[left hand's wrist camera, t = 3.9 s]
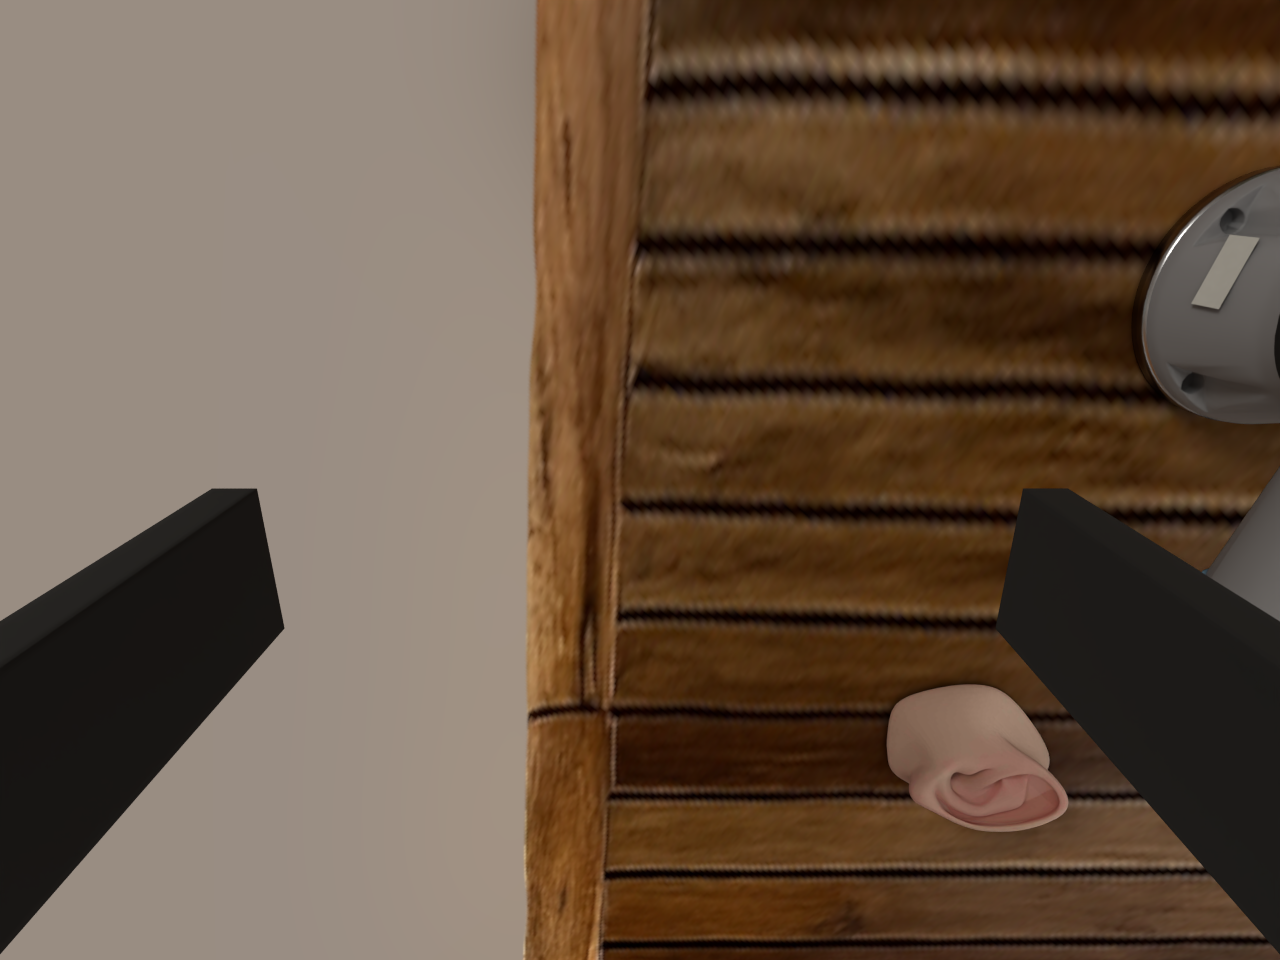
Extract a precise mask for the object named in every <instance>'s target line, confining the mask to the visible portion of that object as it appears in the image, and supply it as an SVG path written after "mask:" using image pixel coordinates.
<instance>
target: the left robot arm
mask: <svg viewBox="0 0 1280 960" xmlns="http://www.w3.org/2000/svg"><path fill="white" fill-rule="evenodd" d="M1132 340H1133V346H1134V351H1135V355H1136V359H1137V361H1138V364H1139V366H1140V369H1141V371H1142V372H1143V374H1144V376H1145V378H1146V379H1147V381H1148V382H1149V383H1150V385H1151V386H1152V387H1153V388H1154V389H1155V390H1156V392H1157V393H1158V394H1160V395H1161V396H1162V397H1163V398H1164V399H1166V400H1167V401H1169V402H1170V403H1172V404H1173V405H1175V406H1177V407H1179V408H1181V409H1183V410H1186V411H1188V412H1191V413H1194V414H1197V415H1200V416H1203V417H1206V418H1209V419H1213V420H1218V421H1225V422H1231V423H1240V424H1265V423H1280V166H1275V167H1270V168H1265V169H1261V170H1258V171H1254V172H1251V173H1249V174H1246V175H1244V176H1241V177H1239V178H1237V179H1235V180H1232V181H1230V182H1228V183H1226V184H1225V185H1223V186H1221V187H1220V188H1218V189H1216V190H1214V191H1213V192H1212V193H1210V194H1209V195H1207V196H1206V197H1204V198H1203V199H1202V200H1200V201H1199V202H1198V203H1197V204H1195V205H1194V206H1193V207H1192V208H1191V209H1190V210H1189V211H1188V212H1186V213H1185V214H1184V215H1183V216H1182V217H1181V218H1180V219H1179V220H1178V221H1177V223H1176V224H1175V225H1174V226H1173V227H1172V228H1171V229H1170V231H1169V232H1168V233H1167V234H1166V236H1165V237H1164V238H1163V240H1162V241H1161V243H1160V244H1159V246H1158V247H1157V249H1156V250H1155V252H1154V253H1153V255H1152V257H1151V259H1150V261H1149V263H1148V264H1147V266H1146V269H1145V271H1144V273H1143V275H1142V278H1141V281H1140V284H1139V286H1138V289H1137V293H1136V297H1135V301H1134V307H1133V313H1132ZM283 629H284V624H283V619H282V614H281V609H280V604H279V598H278V593H277V588H276V583H275V578H274V573H273V568H272V563H271V558H270V553H269V548H268V543H267V538H266V533H265V528H264V522H263V517H262V512H261V507H260V502H259V497H258V492H257V489H211V490H209V491H208V492H206V493H204V494H203V495H201V496H200V497H198V498H196V499H195V500H193V501H192V502H190V503H188V504H187V505H185V506H184V507H182V508H180V509H179V510H177V511H176V512H174V513H172V514H171V515H169V516H168V517H166V518H164V519H163V520H161V521H160V522H158V523H156V524H155V525H153V526H152V527H150V528H148V529H147V530H145V531H144V532H142V533H140V534H139V535H137V536H136V537H134V538H133V539H131V540H129V541H128V542H126V543H124V544H123V545H121V546H120V547H118V548H117V549H115V550H113V551H112V552H110V553H108V554H107V555H105V556H104V557H102V558H100V559H99V560H97V561H96V562H94V563H93V564H91V565H89V566H88V567H86V568H85V569H83V570H81V571H80V572H78V573H77V574H75V575H73V576H72V577H70V578H69V579H67V580H65V581H64V582H62V583H61V584H59V585H57V586H56V587H54V588H53V589H51V590H49V591H48V592H46V593H45V594H43V595H41V596H40V597H38V598H37V599H35V600H33V601H32V602H30V603H29V604H27V605H25V606H24V607H22V608H21V609H19V610H17V611H16V612H14V613H13V614H11V615H9V616H8V617H6V618H5V619H3V620H2V621H0V954H1V953H2V951H3V950H4V949H5V948H6V947H7V946H8V945H9V943H10V942H11V941H12V940H13V939H14V938H15V937H16V935H17V934H18V933H19V932H20V931H21V930H22V929H23V927H24V926H25V925H26V924H27V923H28V922H29V921H30V919H31V918H32V917H33V916H34V915H35V914H36V913H37V911H38V910H39V909H40V908H41V907H42V906H43V904H44V903H45V902H46V901H47V900H48V899H49V898H50V896H51V895H52V894H53V893H54V892H55V891H56V890H57V888H58V887H59V886H60V885H61V884H62V883H63V881H64V880H65V879H66V878H67V877H68V876H69V875H70V874H71V872H72V871H73V870H74V869H75V868H76V867H77V866H78V864H79V863H80V862H81V861H82V860H83V859H84V858H85V856H86V855H87V854H88V853H89V852H90V851H91V849H92V848H93V847H94V846H95V845H96V844H97V843H98V841H99V840H100V839H101V838H102V837H103V836H104V835H105V833H106V832H107V831H108V830H109V829H110V828H111V827H112V825H113V824H114V823H115V822H116V821H117V820H118V819H119V817H120V816H121V815H122V814H123V813H124V812H125V811H126V809H127V808H128V807H129V806H130V805H131V804H132V802H133V801H134V800H135V799H136V798H137V797H138V796H139V794H140V793H141V792H142V791H143V790H144V789H145V788H146V786H147V785H148V784H149V783H150V782H151V781H152V780H153V778H154V777H155V776H156V775H157V774H158V773H159V772H160V770H161V769H162V768H163V767H164V766H165V765H166V764H167V762H168V761H169V760H170V759H171V758H172V757H173V755H174V754H175V753H176V752H177V751H178V750H179V749H180V747H181V746H182V745H183V744H184V743H185V742H186V741H187V739H188V738H189V737H190V736H191V735H192V734H193V732H194V731H195V730H196V729H197V728H198V727H199V726H200V725H201V723H202V722H203V721H204V720H205V719H206V718H207V717H208V715H209V714H210V713H211V712H212V711H213V710H214V708H215V707H216V706H217V705H218V704H219V703H220V702H221V700H222V699H223V698H224V697H225V696H226V695H227V694H228V692H229V691H230V690H231V689H232V688H233V687H234V686H235V684H236V683H237V682H238V681H239V680H240V679H241V678H242V676H243V675H244V674H245V673H246V672H247V671H248V670H249V668H250V667H251V666H252V665H253V664H254V663H255V662H256V660H257V659H258V658H259V657H260V656H261V655H262V653H263V652H264V651H265V650H266V649H267V648H268V647H269V645H270V644H271V643H272V642H273V641H274V640H275V639H276V637H277V636H278V635H279V634H280V633H281V632H282V631H283ZM996 629H997V631H998V632H999V633H1000V634H1001V635H1002V636H1003V637H1004V639H1005V640H1006V641H1007V642H1008V643H1009V644H1010V645H1011V647H1012V648H1013V649H1014V650H1015V651H1016V652H1017V653H1018V655H1019V656H1020V657H1021V658H1022V659H1023V660H1024V662H1025V663H1026V664H1027V665H1028V666H1029V667H1030V668H1031V670H1032V671H1033V672H1034V673H1035V674H1036V675H1037V676H1038V678H1039V679H1040V680H1041V681H1042V682H1043V683H1044V684H1045V686H1046V687H1047V688H1048V689H1049V690H1050V691H1051V692H1052V694H1053V695H1054V696H1055V697H1056V698H1057V699H1058V700H1059V702H1060V703H1061V704H1062V705H1063V706H1064V707H1065V709H1066V710H1067V711H1068V712H1069V713H1070V714H1071V715H1072V717H1073V718H1074V719H1075V720H1076V721H1077V722H1078V723H1079V725H1080V726H1081V727H1082V728H1083V729H1084V730H1085V731H1086V733H1087V734H1088V735H1089V736H1090V737H1091V738H1092V739H1093V741H1094V742H1095V743H1096V744H1097V745H1098V746H1099V747H1100V749H1101V750H1102V751H1103V752H1104V753H1105V754H1106V755H1107V757H1108V758H1109V759H1110V760H1111V761H1112V762H1113V764H1114V765H1115V766H1116V767H1117V768H1118V769H1119V770H1120V772H1121V773H1122V774H1123V775H1124V776H1125V777H1126V778H1127V780H1128V781H1129V782H1130V783H1131V784H1132V785H1133V786H1134V788H1135V789H1136V790H1137V791H1138V792H1139V793H1140V794H1141V796H1142V797H1143V798H1144V799H1145V800H1146V801H1147V802H1148V804H1149V805H1150V806H1151V807H1152V808H1153V809H1154V811H1155V812H1156V813H1157V814H1158V815H1159V816H1160V817H1161V819H1162V820H1163V821H1164V822H1165V823H1166V824H1167V825H1168V827H1169V828H1170V829H1171V830H1172V831H1173V832H1174V833H1175V835H1176V836H1177V837H1178V838H1179V839H1180V840H1181V841H1182V843H1183V844H1184V845H1185V846H1186V847H1187V848H1188V849H1189V851H1190V852H1191V853H1192V854H1193V855H1194V856H1195V858H1196V859H1197V860H1198V861H1199V862H1200V863H1201V864H1202V866H1203V867H1204V868H1205V869H1206V870H1207V871H1208V872H1209V874H1210V875H1211V876H1212V877H1213V878H1214V879H1215V880H1216V882H1217V883H1218V884H1219V885H1220V886H1221V887H1222V888H1223V890H1224V891H1225V892H1226V893H1227V894H1228V895H1229V896H1230V898H1231V899H1232V900H1233V901H1234V902H1235V903H1236V904H1237V906H1238V907H1239V908H1240V909H1241V910H1242V911H1243V913H1244V914H1245V915H1246V916H1247V917H1248V918H1249V919H1250V921H1251V922H1252V923H1253V924H1254V925H1255V926H1256V927H1257V929H1258V930H1259V931H1260V932H1261V933H1262V934H1263V935H1264V937H1265V938H1266V939H1267V940H1268V941H1269V942H1270V943H1271V945H1272V946H1273V947H1274V948H1275V949H1276V950H1277V951H1278V953H1279V954H1280V467H1279V468H1278V470H1277V471H1276V473H1275V474H1274V475H1273V477H1272V478H1271V480H1270V481H1269V483H1268V484H1267V486H1266V487H1265V488H1264V490H1263V491H1262V493H1261V494H1260V496H1259V497H1258V499H1257V500H1256V501H1255V503H1254V504H1253V506H1252V507H1251V509H1250V510H1249V512H1248V513H1247V514H1246V516H1245V517H1244V519H1243V520H1242V522H1241V523H1240V524H1239V526H1238V527H1237V529H1236V530H1235V532H1234V533H1233V535H1232V536H1231V537H1230V539H1229V540H1228V542H1227V543H1226V545H1225V546H1224V548H1223V549H1222V550H1221V552H1220V553H1219V555H1218V556H1217V558H1216V559H1215V561H1214V562H1213V563H1212V565H1211V566H1210V568H1209V569H1205V570H1203V571H1202V572H1200V571H1199V570H1197V569H1195V568H1194V567H1192V566H1191V565H1189V564H1187V563H1186V562H1184V561H1183V560H1181V559H1180V558H1178V557H1176V556H1175V555H1173V554H1172V553H1170V552H1168V551H1167V550H1165V549H1164V548H1162V547H1160V546H1159V545H1157V544H1156V543H1154V542H1152V541H1151V540H1149V539H1148V538H1146V537H1144V536H1143V535H1141V534H1140V533H1138V532H1136V531H1135V530H1133V529H1132V528H1130V527H1128V526H1127V525H1125V524H1124V523H1122V522H1120V521H1119V520H1117V519H1116V518H1114V517H1112V516H1111V515H1109V514H1108V513H1106V512H1104V511H1103V510H1101V509H1100V508H1098V507H1096V506H1095V505H1093V504H1092V503H1090V502H1088V501H1087V500H1085V499H1084V498H1082V497H1080V496H1079V495H1077V494H1076V493H1074V492H1072V491H1071V490H1069V489H1023V492H1022V497H1021V502H1020V507H1019V512H1018V517H1017V522H1016V527H1015V533H1014V538H1013V543H1012V548H1011V553H1010V558H1009V563H1008V568H1007V573H1006V578H1005V583H1004V588H1003V593H1002V598H1001V603H1000V608H999V614H998V619H997V624H996Z"/></svg>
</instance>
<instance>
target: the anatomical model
mask: <svg viewBox="0 0 1280 960" xmlns="http://www.w3.org/2000/svg"><path fill="white" fill-rule="evenodd" d="M887 754H888V762H889V766H890V768H891V770H892V771H893V772H894V773H895V774H896V775H897V776H898V777H899V778H901V779H902V780H904V781H906V782H907V783H909V792H910V795H911V797H912V799H913V800H914V801H915V802H916V803H917V804H919V805H921V806H923V807H925V808H927V809H929V810H931V811H933V812H935V813H936V814H938V815H940V816H942V817H944V818H946V819H948V820H950V821H952V822H954V823H957V824H959V825H962V826H964V827H968V828H971V829H975V830H981V831H993V832H1005V831H1018V830H1025V829H1029V828H1033V827H1037V826H1040V825H1043V824H1045V823H1048V822H1050V821H1052V820H1054V819H1056V818H1058V817H1059V816H1061V815H1062V814H1063V813H1064V812H1065V811H1066V809H1067V807H1068V797H1067V795H1066V792H1065V790H1064V789H1063V787H1062V786H1061V784H1060V783H1059V782H1058V780H1057V779H1056V778H1055V777H1054V776H1053V775H1052V774H1051V773H1050V772H1049V771H1048V770H1047V769H1048V767H1049V754H1048V751H1047V748H1046V746H1045V744H1044V742H1043V740H1042V738H1041V736H1040V734H1039V733H1038V731H1037V730H1036V728H1035V727H1034V725H1033V724H1032V722H1031V721H1030V720H1029V718H1028V717H1027V716H1026V714H1025V713H1024V712H1023V711H1022V709H1021V708H1020V707H1019V706H1018V705H1017V704H1016V703H1015V702H1014V701H1013V700H1012V699H1011V698H1010V697H1009V696H1008V695H1006V694H1005V693H1003V692H1002V691H1000V690H998V689H996V688H993V687H990V686H985V685H976V684H964V685H953V686H947V687H941V688H935V689H931V690H927V691H923V692H919V693H916V694H913V695H910V696H908V697H906V698H904V699H902V700H901V701H899V702H898V703H897V704H896V705H895V707H894V708H893V710H892V712H891V715H890V719H889V725H888V734H887Z"/></svg>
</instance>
